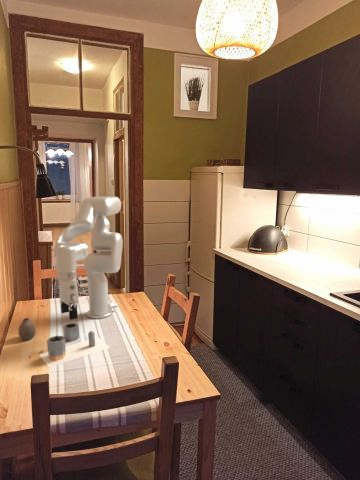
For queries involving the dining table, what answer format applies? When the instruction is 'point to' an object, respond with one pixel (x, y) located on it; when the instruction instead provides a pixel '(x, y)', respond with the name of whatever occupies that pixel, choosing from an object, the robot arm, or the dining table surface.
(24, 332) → the vase
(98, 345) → the pin board
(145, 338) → the dining table surface
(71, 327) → the loose sleeve
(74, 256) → the robot arm
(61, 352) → the seated sleeve
